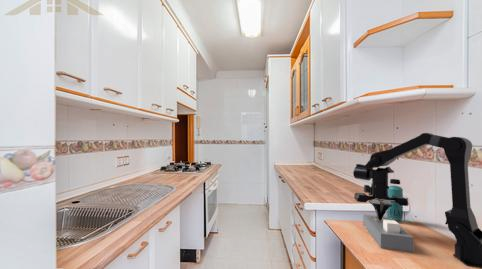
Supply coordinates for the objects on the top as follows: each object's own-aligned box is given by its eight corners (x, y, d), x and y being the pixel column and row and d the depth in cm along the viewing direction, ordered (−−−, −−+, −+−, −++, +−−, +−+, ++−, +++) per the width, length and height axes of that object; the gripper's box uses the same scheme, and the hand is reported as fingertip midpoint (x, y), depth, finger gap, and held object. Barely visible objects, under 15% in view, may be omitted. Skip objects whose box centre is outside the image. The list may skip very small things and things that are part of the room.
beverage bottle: (387, 221, 106) (387, 179, 107) (386, 217, 112) (386, 177, 113) (404, 224, 103) (404, 180, 104) (401, 220, 109) (402, 178, 110)
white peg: (395, 233, 84) (395, 220, 84) (399, 237, 80) (399, 224, 80) (383, 232, 85) (383, 219, 85) (387, 236, 81) (387, 223, 81)
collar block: (388, 228, 98) (388, 216, 98) (413, 252, 76) (413, 237, 77) (363, 225, 100) (363, 214, 100) (380, 247, 79) (380, 233, 79)
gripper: (396, 180, 100) (396, 215, 100) (351, 178, 105) (351, 211, 104) (408, 185, 89) (408, 224, 89) (357, 182, 94) (357, 219, 94)
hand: (379, 219), depth 94 cm, fingers closed, pressing on birch peg
